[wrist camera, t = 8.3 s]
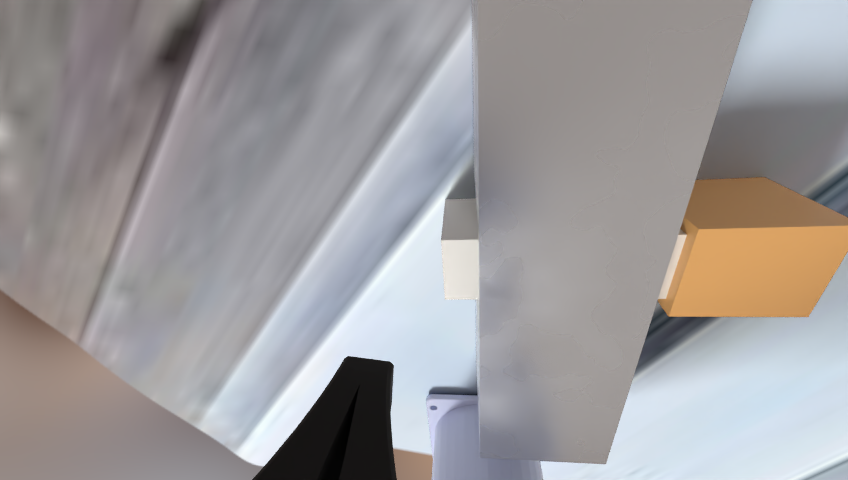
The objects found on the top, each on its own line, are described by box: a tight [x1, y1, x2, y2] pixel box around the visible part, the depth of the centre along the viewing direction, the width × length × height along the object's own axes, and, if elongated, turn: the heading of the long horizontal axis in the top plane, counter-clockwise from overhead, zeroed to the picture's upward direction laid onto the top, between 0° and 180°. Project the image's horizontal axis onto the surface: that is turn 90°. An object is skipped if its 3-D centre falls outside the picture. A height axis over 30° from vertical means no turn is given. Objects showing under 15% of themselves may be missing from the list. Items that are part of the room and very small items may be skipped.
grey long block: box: [472, 0, 753, 464], centre depth 15 cm, size 20×6×6 cm, turn 5°
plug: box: [441, 177, 848, 317], centre depth 16 cm, size 4×14×4 cm, turn 95°
